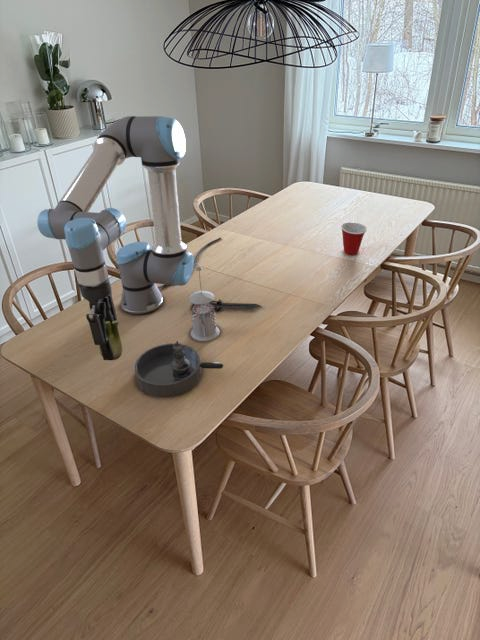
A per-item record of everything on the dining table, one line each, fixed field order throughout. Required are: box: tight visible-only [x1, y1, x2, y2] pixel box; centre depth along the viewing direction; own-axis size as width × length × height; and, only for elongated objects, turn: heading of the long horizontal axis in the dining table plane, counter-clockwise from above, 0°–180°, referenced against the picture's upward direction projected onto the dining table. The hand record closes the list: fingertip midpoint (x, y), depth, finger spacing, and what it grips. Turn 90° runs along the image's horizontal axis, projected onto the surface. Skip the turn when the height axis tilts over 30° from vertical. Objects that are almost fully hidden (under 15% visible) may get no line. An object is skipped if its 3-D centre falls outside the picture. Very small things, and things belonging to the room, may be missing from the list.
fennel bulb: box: [98, 321, 124, 361], centre depth 129 cm, size 6×5×12 cm
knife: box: [191, 299, 263, 313], centre depth 170 cm, size 25×6×1 cm, turn 78°
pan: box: [134, 343, 203, 398], centre depth 140 cm, size 19×19×4 cm
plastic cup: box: [340, 221, 368, 256], centre depth 200 cm, size 11×11×12 cm
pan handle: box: [200, 361, 224, 370], centre depth 138 cm, size 7×2×2 cm, turn 86°
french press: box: [188, 265, 220, 342], centre depth 151 cm, size 10×12×25 cm
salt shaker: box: [170, 340, 191, 379], centre depth 137 cm, size 6×6×12 cm
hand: (111, 352), depth 131 cm, fingers closed on fennel bulb, 5 cm apart
